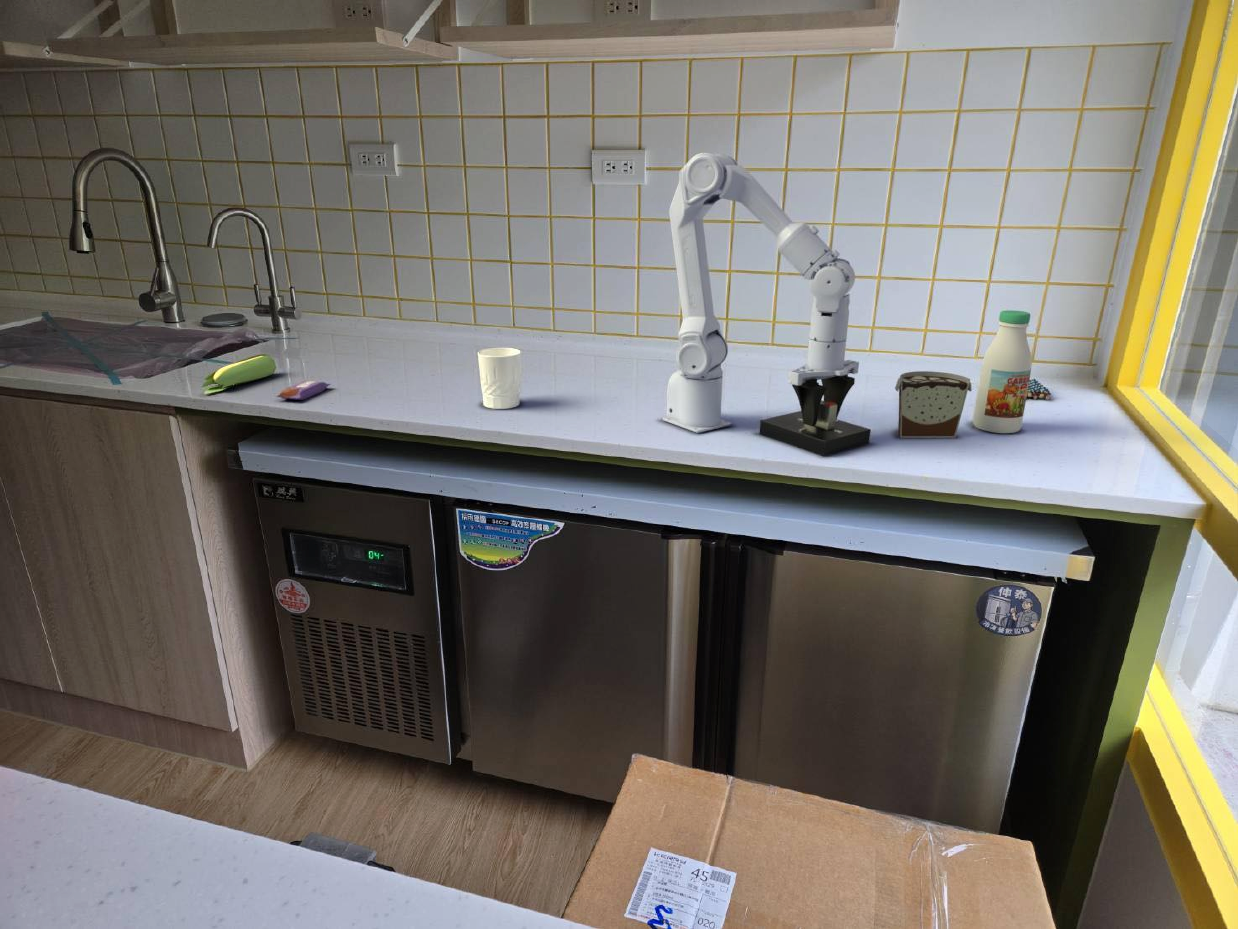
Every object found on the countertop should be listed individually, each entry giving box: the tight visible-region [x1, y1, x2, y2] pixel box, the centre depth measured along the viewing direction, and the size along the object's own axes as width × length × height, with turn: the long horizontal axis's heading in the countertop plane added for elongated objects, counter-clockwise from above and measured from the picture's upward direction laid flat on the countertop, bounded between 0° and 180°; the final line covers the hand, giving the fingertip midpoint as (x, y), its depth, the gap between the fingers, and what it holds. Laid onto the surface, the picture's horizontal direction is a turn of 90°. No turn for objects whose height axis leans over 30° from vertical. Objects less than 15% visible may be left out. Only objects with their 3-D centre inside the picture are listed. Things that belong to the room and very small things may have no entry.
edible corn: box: [201, 353, 277, 395], centre depth 166 cm, size 5×20×5 cm, turn 163°
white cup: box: [477, 347, 522, 410], centre depth 152 cm, size 8×8×10 cm
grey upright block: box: [815, 399, 837, 430], centre depth 133 cm, size 5×2×4 cm, turn 36°
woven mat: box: [1026, 378, 1052, 401], centre depth 164 cm, size 10×11×2 cm
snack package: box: [275, 380, 332, 401], centre depth 159 cm, size 12×2×5 cm
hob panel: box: [759, 410, 872, 457], centre depth 135 cm, size 14×11×3 cm
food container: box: [894, 370, 973, 439], centre depth 138 cm, size 12×6×10 cm, turn 92°
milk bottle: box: [972, 309, 1033, 434], centre depth 139 cm, size 8×8×20 cm
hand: (819, 421), depth 133 cm, fingers open, 4 cm apart
